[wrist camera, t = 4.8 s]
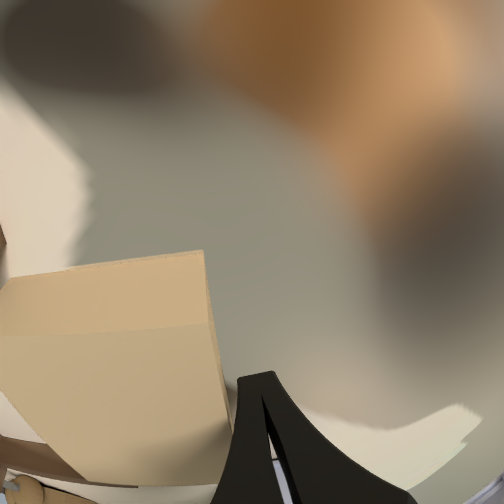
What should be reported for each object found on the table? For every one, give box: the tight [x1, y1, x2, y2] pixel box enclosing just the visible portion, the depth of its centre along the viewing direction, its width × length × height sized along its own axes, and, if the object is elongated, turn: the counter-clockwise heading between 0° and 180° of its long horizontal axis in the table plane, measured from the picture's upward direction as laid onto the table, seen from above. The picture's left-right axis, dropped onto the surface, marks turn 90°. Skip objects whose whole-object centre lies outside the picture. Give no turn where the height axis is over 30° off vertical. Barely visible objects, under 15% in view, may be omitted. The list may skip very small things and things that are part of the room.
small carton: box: [0, 249, 234, 486], centre depth 10 cm, size 10×8×4 cm
